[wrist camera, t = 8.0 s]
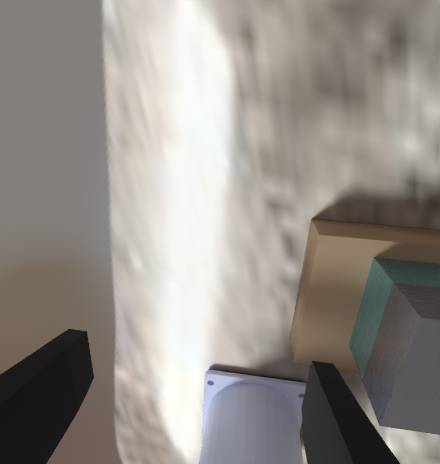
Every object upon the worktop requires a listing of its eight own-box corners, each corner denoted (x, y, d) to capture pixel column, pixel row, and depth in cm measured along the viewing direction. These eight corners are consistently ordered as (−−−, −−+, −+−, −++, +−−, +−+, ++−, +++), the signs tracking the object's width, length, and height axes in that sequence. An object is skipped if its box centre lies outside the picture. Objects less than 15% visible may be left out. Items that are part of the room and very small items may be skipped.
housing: (418, 353, 18) (474, 439, 13) (348, 345, 18) (379, 425, 13) (453, 265, 15) (538, 331, 11) (373, 257, 16) (421, 317, 11)
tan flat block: (437, 354, 20) (460, 385, 18) (290, 336, 21) (293, 363, 19) (489, 234, 17) (526, 254, 15) (311, 218, 18) (319, 234, 16)
